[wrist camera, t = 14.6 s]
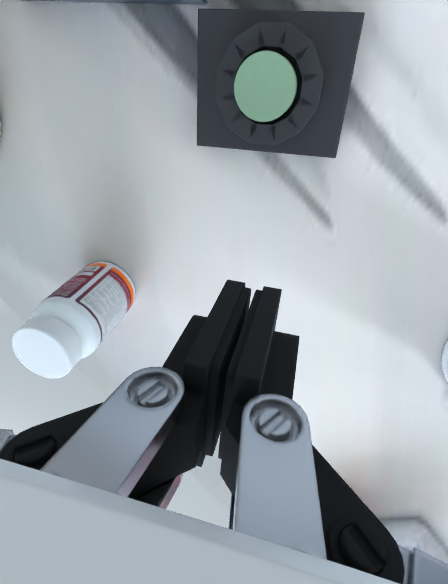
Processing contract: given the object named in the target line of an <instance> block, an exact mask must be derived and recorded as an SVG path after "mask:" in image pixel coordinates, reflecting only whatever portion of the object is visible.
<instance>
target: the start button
mask: <svg viewBox="0 0 448 584" xmlns="http://www.w3.org/2000/svg"><path fill="white" fill-rule="evenodd" d="M296 91H297V77H296V73H295V70H294V68H293V66H292V65H291V63H290V62H289V61H288V60H287V59H286V58H285V57H283V56H282V55H280V54H279V53H276V52H273V51H259V52H257V53H254V54H252V55H251V56H249V57H248V58H247V59H246V60H245V61H244V62H243V63H242V64H241V66H240V68H239V69H238V71H237V74H236V77H235V81H234V95H235V99H236V102H237V104H238V106H239V108H240V110H241V111H242V112H243V113H244V114H245V115H246V116H247V117H249V118H250V119H252V120H255V121H259V122H267V121H271V120H274V119H276V118H278V117H280V116H281V115H282V114H283V113H284V112H286V111H287V110H288V108H289V107H290V106H291V104H292V102H293V100H294V98H295V95H296Z"/></svg>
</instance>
